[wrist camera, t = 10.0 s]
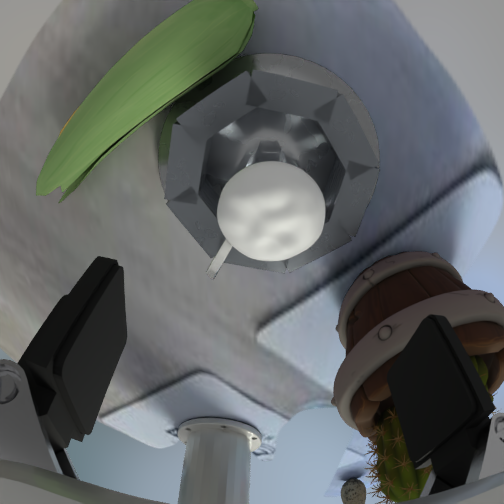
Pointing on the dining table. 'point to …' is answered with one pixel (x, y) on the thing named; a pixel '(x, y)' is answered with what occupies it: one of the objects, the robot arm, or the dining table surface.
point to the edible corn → (147, 85)
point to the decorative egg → (353, 492)
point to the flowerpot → (392, 344)
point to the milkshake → (268, 207)
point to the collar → (269, 128)
